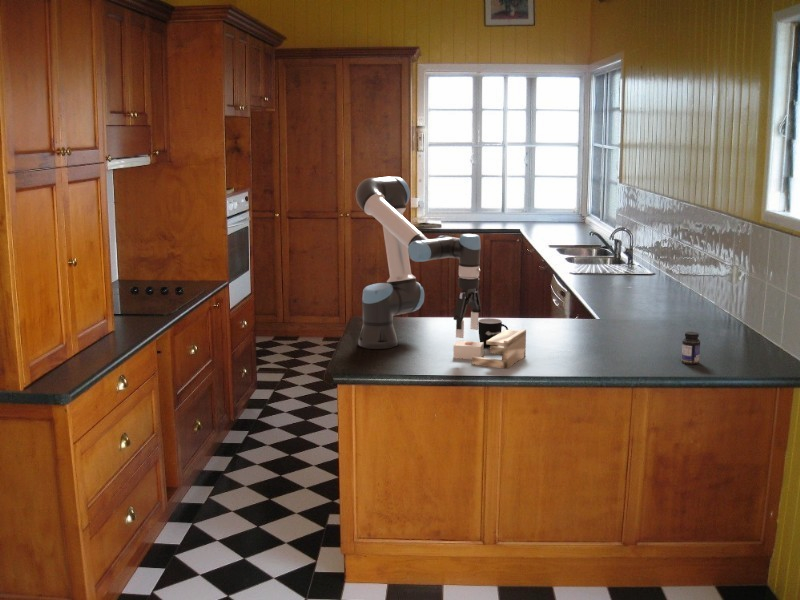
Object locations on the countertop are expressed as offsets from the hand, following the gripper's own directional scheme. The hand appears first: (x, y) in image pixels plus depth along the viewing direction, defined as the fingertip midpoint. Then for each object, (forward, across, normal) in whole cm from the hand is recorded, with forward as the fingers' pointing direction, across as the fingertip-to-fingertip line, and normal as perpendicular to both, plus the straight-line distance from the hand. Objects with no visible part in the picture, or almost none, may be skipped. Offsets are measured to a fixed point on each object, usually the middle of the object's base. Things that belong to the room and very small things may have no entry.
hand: (467, 333), depth 326 cm
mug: (+9, +18, -4) cm, 20 cm away
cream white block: (+9, 0, -1) cm, 9 cm away
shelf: (+8, 0, -12) cm, 15 cm away
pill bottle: (+7, +27, -76) cm, 81 cm away
